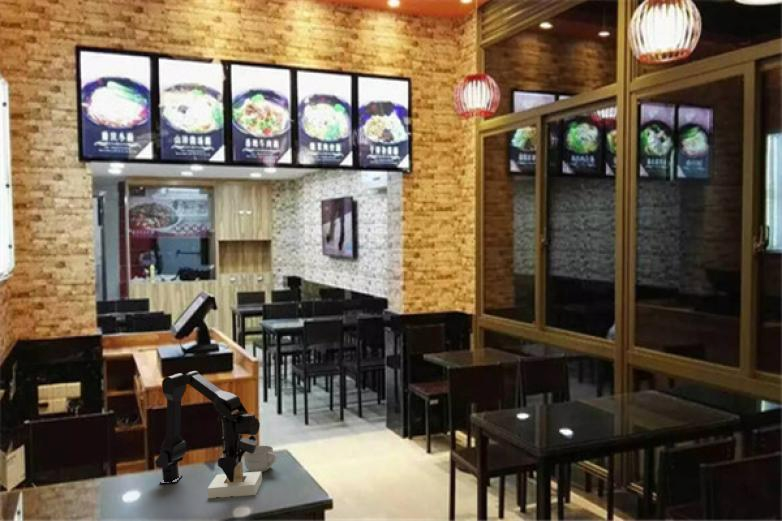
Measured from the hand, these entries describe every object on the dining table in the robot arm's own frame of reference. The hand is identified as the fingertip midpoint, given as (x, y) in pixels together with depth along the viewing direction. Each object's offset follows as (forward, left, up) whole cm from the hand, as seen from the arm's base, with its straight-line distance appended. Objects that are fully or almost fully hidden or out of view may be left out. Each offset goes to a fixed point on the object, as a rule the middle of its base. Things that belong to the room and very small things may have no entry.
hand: (235, 476), depth 218 cm
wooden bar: (0, 0, -4) cm, 4 cm away
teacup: (-16, +6, -5) cm, 18 cm away
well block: (0, 0, -4) cm, 4 cm away
